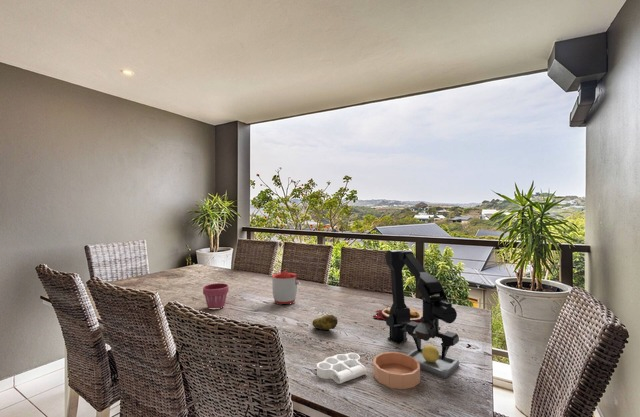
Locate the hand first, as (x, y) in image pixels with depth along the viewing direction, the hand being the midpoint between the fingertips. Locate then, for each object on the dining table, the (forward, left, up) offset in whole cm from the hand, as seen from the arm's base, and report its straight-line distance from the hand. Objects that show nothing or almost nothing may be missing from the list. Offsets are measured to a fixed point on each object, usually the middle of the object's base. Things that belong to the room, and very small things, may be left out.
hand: (430, 355), depth 115 cm
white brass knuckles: (-21, -27, -4) cm, 34 cm away
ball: (0, 0, +1) cm, 1 cm away
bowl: (-5, -16, -3) cm, 17 cm away
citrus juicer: (-97, +9, -3) cm, 97 cm away
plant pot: (-119, -26, -3) cm, 122 cm away
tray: (0, 0, -3) cm, 3 cm away
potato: (-50, -5, -3) cm, 50 cm away
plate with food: (-34, +39, -4) cm, 52 cm away
